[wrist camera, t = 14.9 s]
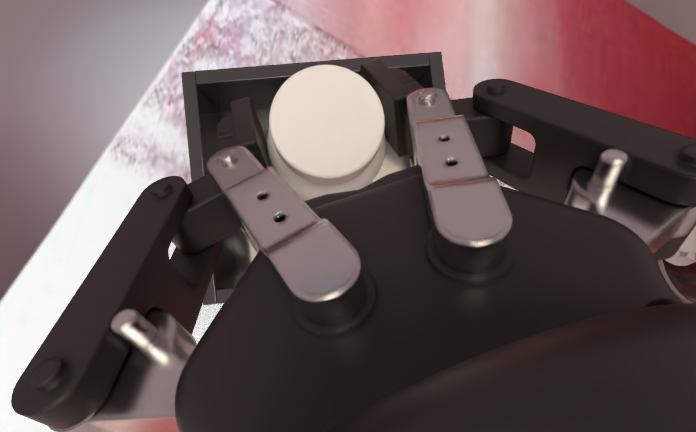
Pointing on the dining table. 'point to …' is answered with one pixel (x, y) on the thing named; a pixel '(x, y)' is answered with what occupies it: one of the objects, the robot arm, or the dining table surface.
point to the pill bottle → (326, 131)
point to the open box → (261, 86)
